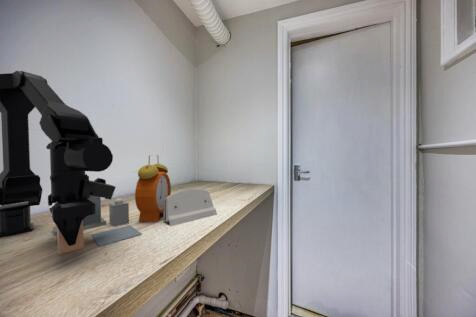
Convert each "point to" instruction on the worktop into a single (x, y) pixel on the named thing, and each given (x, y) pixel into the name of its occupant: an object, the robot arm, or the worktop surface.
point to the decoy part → (119, 212)
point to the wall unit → (91, 216)
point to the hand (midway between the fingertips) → (70, 241)
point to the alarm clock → (152, 191)
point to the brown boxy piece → (63, 245)
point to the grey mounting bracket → (187, 206)
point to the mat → (115, 235)
